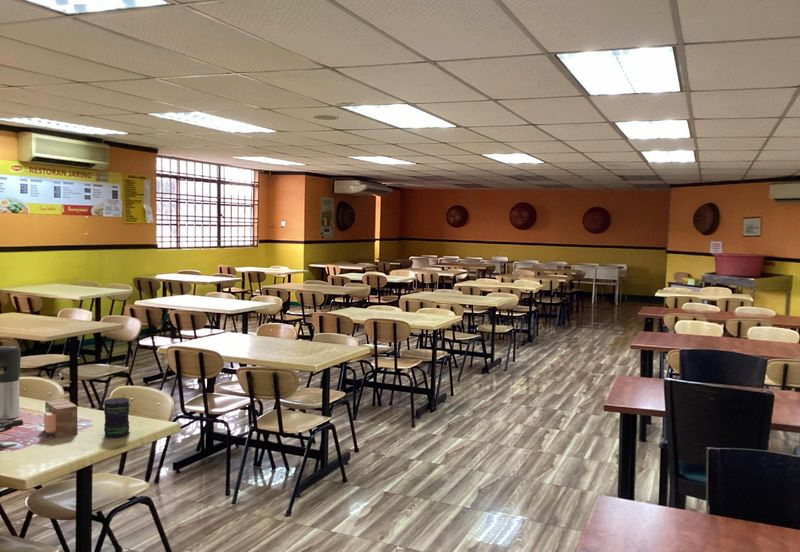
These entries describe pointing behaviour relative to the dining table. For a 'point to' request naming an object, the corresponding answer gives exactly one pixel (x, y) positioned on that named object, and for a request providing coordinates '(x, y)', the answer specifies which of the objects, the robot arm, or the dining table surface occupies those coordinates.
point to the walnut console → (64, 417)
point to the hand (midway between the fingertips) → (22, 422)
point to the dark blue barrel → (116, 418)
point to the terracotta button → (50, 422)
